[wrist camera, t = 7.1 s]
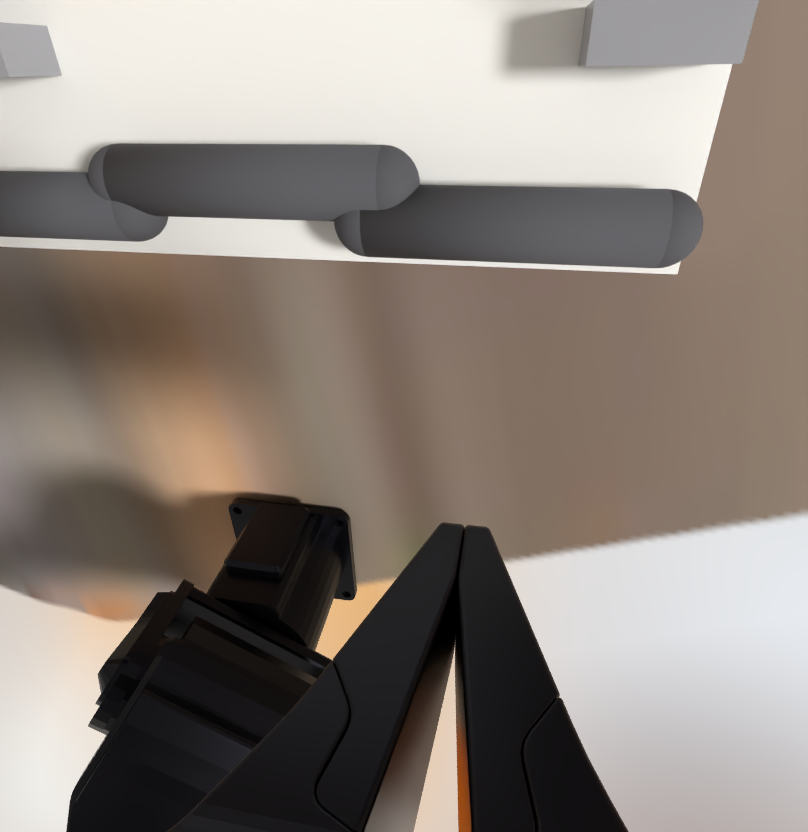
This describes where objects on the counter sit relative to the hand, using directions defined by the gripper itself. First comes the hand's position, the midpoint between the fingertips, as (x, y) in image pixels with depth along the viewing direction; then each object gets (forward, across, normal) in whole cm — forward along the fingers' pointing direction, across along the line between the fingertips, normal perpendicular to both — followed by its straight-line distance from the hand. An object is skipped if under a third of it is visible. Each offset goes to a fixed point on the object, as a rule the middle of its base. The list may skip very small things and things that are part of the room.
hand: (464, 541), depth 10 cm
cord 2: (+10, +7, -4) cm, 13 cm away
